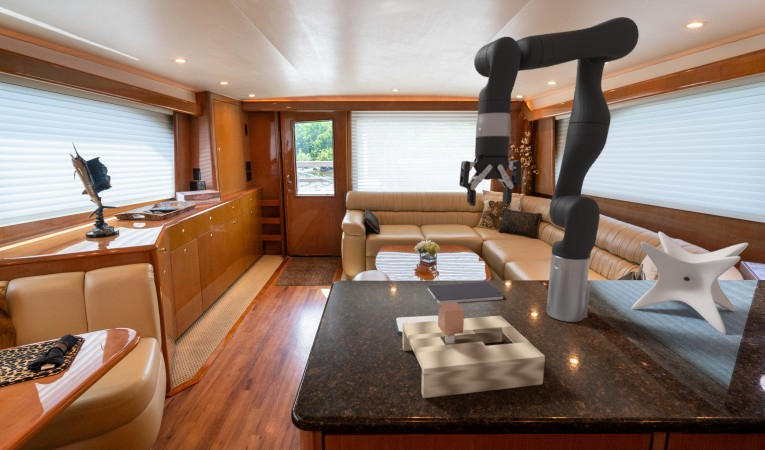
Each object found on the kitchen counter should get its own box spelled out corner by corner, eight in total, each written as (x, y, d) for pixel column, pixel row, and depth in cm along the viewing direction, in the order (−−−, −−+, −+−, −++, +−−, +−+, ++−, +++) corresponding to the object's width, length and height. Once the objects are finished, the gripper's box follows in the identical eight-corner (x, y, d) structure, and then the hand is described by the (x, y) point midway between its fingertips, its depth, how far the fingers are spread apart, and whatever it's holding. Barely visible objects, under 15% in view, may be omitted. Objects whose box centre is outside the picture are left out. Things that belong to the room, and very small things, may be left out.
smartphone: (397, 338, 90) (461, 335, 91) (397, 332, 90) (461, 329, 91) (394, 322, 99) (452, 319, 100) (394, 316, 98) (452, 313, 99)
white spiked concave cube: (631, 309, 105) (640, 241, 101) (649, 291, 118) (658, 231, 114) (725, 334, 90) (740, 256, 86) (734, 311, 103) (748, 242, 99)
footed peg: (455, 358, 80) (458, 301, 77) (464, 371, 75) (467, 311, 73) (433, 360, 79) (435, 302, 77) (441, 374, 74) (443, 312, 72)
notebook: (487, 286, 125) (426, 290, 121) (487, 281, 124) (426, 285, 121) (504, 300, 112) (437, 305, 109) (505, 295, 112) (438, 300, 109)
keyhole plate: (498, 338, 89) (500, 315, 87) (542, 384, 71) (545, 356, 70) (402, 347, 85) (402, 323, 84) (423, 398, 67) (424, 368, 66)
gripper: (513, 135, 88) (508, 202, 92) (457, 135, 86) (454, 203, 89) (530, 134, 81) (525, 206, 84) (469, 134, 79) (466, 208, 82)
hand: (489, 205), depth 87 cm, fingers open, 8 cm apart
